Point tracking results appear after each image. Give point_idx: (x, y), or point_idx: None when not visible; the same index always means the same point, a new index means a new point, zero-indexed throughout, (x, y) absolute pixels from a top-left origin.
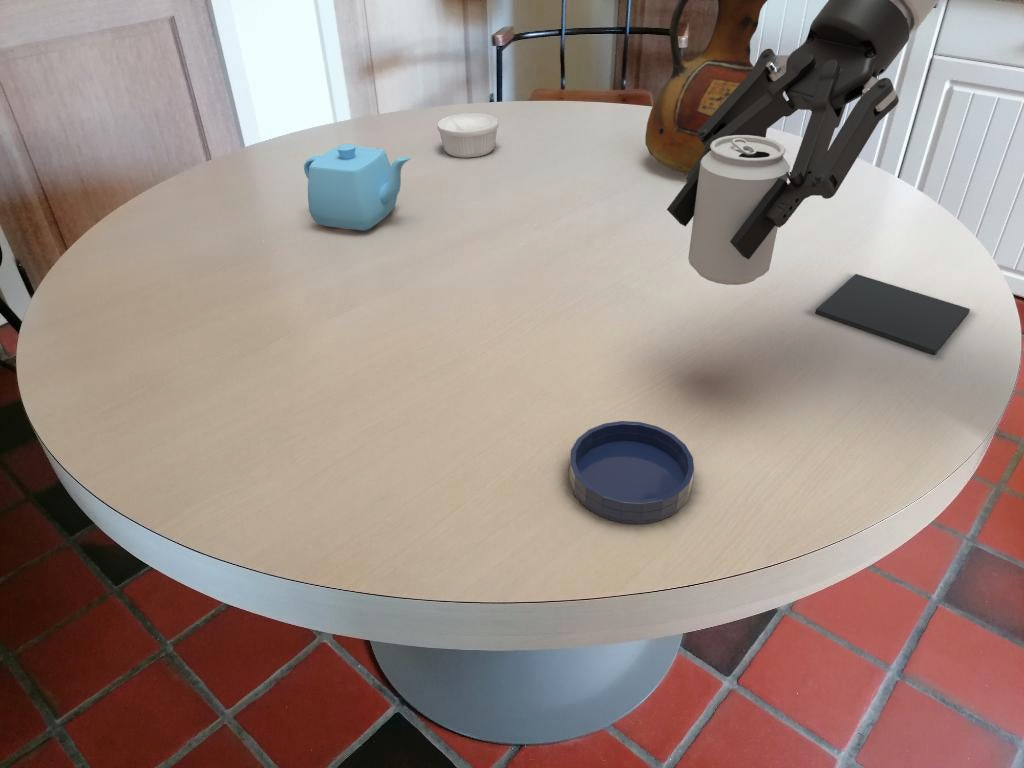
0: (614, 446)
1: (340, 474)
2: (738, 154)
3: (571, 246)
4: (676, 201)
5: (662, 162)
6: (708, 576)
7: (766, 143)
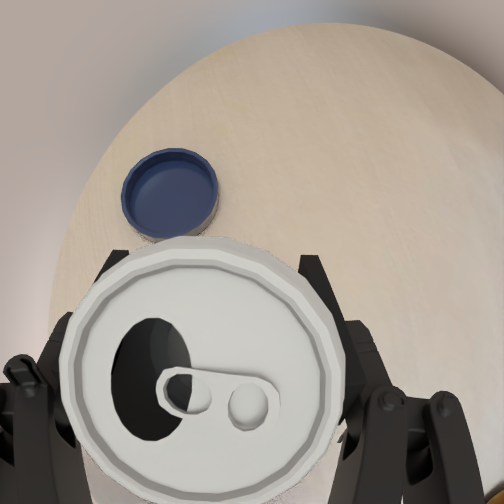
0: (205, 209)
1: (289, 74)
2: (191, 345)
3: (476, 370)
4: (314, 269)
5: (501, 491)
6: (84, 189)
7: (213, 495)
